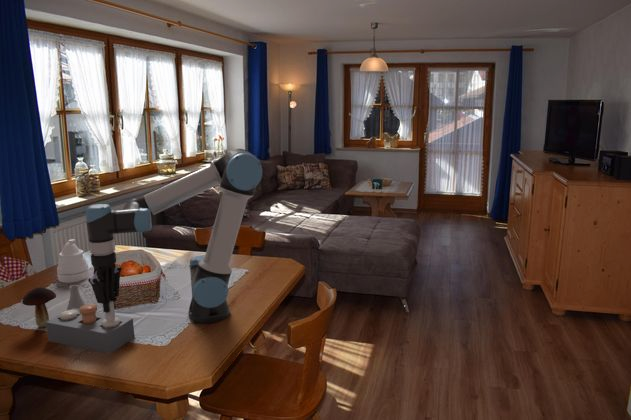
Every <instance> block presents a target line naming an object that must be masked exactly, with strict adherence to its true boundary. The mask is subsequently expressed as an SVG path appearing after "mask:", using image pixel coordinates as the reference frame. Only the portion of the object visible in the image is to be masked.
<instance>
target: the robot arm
mask: <svg viewBox="0 0 631 420" xmlns="http://www.w3.org/2000/svg"><path fill="white" fill-rule="evenodd" d="M262 178H263V166H262V163H261V162H260V160H259V158H258V157H256V155H255V154H253V153H251V152H250V151H248V150H246V149H244V148H235V149H231V150H230V151H228V152H226V153H225V154H222V155H220V156H219V157H217V158H215V159H212V160H211V161H210V163H209V165H207V166H204V167H203V168H201V169H198V170H195V171H194V172H192V173H190V174H187V175H185V176H183V177H181V178H178V179H176V180H174V181H172V182H171V183H168V184H166V185H164V186H162V187H160V188H158V189H155V190H153V191H151V192H149V193H147V194H145V195H142V196H140V197H138V198H132V199H130V200H128V201H127V202H126V204H124V207H123V209H119V210H118V209H117V210H115V209H112V207H111V205H109V204H107V203H100V204H99V203H98V204H91V205H89V206H88V207H86V208H85V217H86V219H85V220H86V221H85V223H86V229H87V236H88V242H89V243H88V245H89V252H90V263H91V266H92V267H93V275H92V277H88V278H87V279H88V280H87V281H88V283H89V284H90V285H91V288H92V290H93V294H94V297H95V299H96V302H97V304H102V308H103V309H102V310H103V312H104V314H105V317H106V320H108V321H114V320H115V315H116V311H115V309H116V303H115V301H117V300H118V298H117V297H119V295H120V279H121V273H122V270H123V269H122V267H121V266H117V265H116V263H117V254H116V253H117V252H116V251H115V250H116V242H115V236H114V235H115V234H116V235H117V234H130V233H143V232H149V231H151V229H152V228H153V227H152V217H153V216H155V215H157V214H159V213H161V212H164V211H165V210H167V209H169V208H171V207H174V206H176V205H178V204H180V203H182V202H184V201H186V200H189V199H191V198H192V197H196V196H197V195H199V194H201V193H204V192H205V191H208V190H210V189H211V188H214V187H217V186H218V185H219V188H220V190H221V191H222V193H221V194H222V195H221V196H220V197H221V198H220V201H219V206H218V207H217V208H218V209H217V213H216V216H215V220H214V223H213V226H212V230H211V232H210V233H211V234H210V237H209V241H208V245H207V248H206V252H205V254H202V255H197V256H193V257H192V258H190V260H189V272H190V273H189V274H190V285H191V286H190V287H191V300H190V304H189V308H188V319H189V320H190V321H191V322H193V323H197V324H212V323H216V322H217V323H218V322H221V321H222V320H225V319H227V318H228V317H229V315H230V314H231V313H230V306H229V303H228V301H227V298H228V295H229V282H230V279H231V274H232V272H233V271H232V270H233V269H232V268H231V267H230V262H231V258H232V255H233V252H234V248H235V245H236V240H237V239H238V234H239V231H240V229H241V228H240V227H241V224H242V220H243V217H244V213H245V209H246V207H247V203H248V200H250V199H251V198H253V197H254V195H255V193H256V189H257V186H258V185H259V184H260V182H261V180H262Z"/></svg>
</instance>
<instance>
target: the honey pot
mask: <svg viewBox="0 0 631 420" xmlns="http://www.w3.org/2000/svg"><path fill="white" fill-rule="evenodd" d="M75 241H76V239H75V238H72V239H71V238H70V239H68V240H67V242H66V243H65V244H64V245H63V247H62V250H61V252H59V255H58V256H59V260H58V263H57V267H56V272H57V274H56V275H57V280H58V281H59V282H60V283H66V284H67V283H76V282H81V281H83V280H85V279H88V278H90V277H89V276H90V271H89V265H88V263H87V260H86V259H85V256H84V255H83V254H84V250H83V249H80V248H79V247H78V246H77V245H76V244H75Z"/></svg>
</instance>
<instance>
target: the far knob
mask: <svg viewBox="0 0 631 420" xmlns="http://www.w3.org/2000/svg"><path fill="white" fill-rule="evenodd" d="M59 315H60V319H61V320H66V321H70V320H72V319H74V318H76V317H77V316H78V312H77V311H76V310H67V309H66V310H65V311H62V312H60V313H59Z"/></svg>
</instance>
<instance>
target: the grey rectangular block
mask: <svg viewBox="0 0 631 420" xmlns="http://www.w3.org/2000/svg"><path fill="white" fill-rule="evenodd" d="M71 310H76V311H77V312H78V316H77V317H76V318H74V319H72V320H70V321H66V320H61V319H60V314H59V315H58V316H56V317H53V318H52V319H49V321H48V322H46V332H47V338H48V342H50V343H55V344H61V345H65V346H70V347H71V346H72V347H76V348H80V349H86V350H91V351H95V352H100V353H106V354H112V353H113V352H115V351H116V350H118V349H119V348H121V347H122V346H124V345H125V344H126V343H128V342H130V341H131V340H132V339H134V338H135V327H134V326H135V325H134V319H133V317H129V316H128V317H126V316H121V315H116V314H115V317H118V318H119V319H120V324H119V325H117V326H116V327H114V328H112V329H110V328H105V327H102V321H103V320H104V319H106V317H105V312H104V313H103V312H98V311H96V318H97V321H96V322H94V323H92V324H91V325H88V324H83V321H82V314H80V313H79V309H75V308H73V309H71Z"/></svg>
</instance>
